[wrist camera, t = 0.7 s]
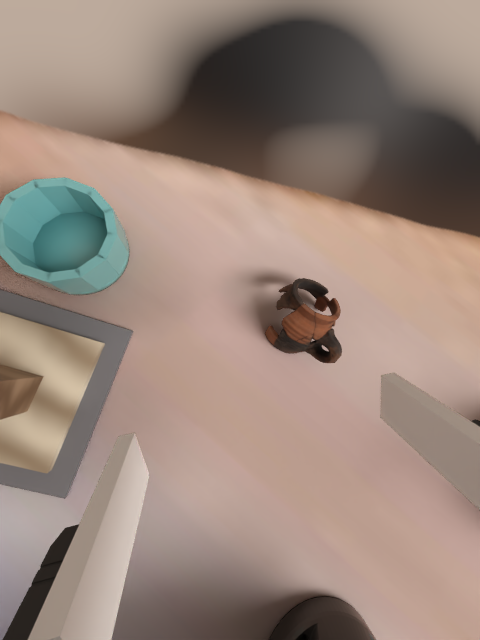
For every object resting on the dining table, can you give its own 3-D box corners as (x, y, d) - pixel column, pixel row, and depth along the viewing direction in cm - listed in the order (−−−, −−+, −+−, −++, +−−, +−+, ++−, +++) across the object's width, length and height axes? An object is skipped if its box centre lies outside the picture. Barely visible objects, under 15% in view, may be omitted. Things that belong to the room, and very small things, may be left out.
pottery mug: (246, 322, 36) (273, 282, 30) (283, 302, 42) (312, 266, 36) (303, 388, 33) (346, 359, 27) (334, 356, 39) (375, 327, 33)
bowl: (108, 307, 32) (89, 295, 26) (12, 276, 31) (-31, 256, 25) (142, 229, 35) (132, 202, 29) (55, 197, 33) (25, 162, 27)
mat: (67, 496, 28) (64, 498, 28) (-129, 452, 26) (-136, 454, 25) (133, 331, 32) (132, 330, 32) (-30, 280, 30) (-34, 278, 29)
